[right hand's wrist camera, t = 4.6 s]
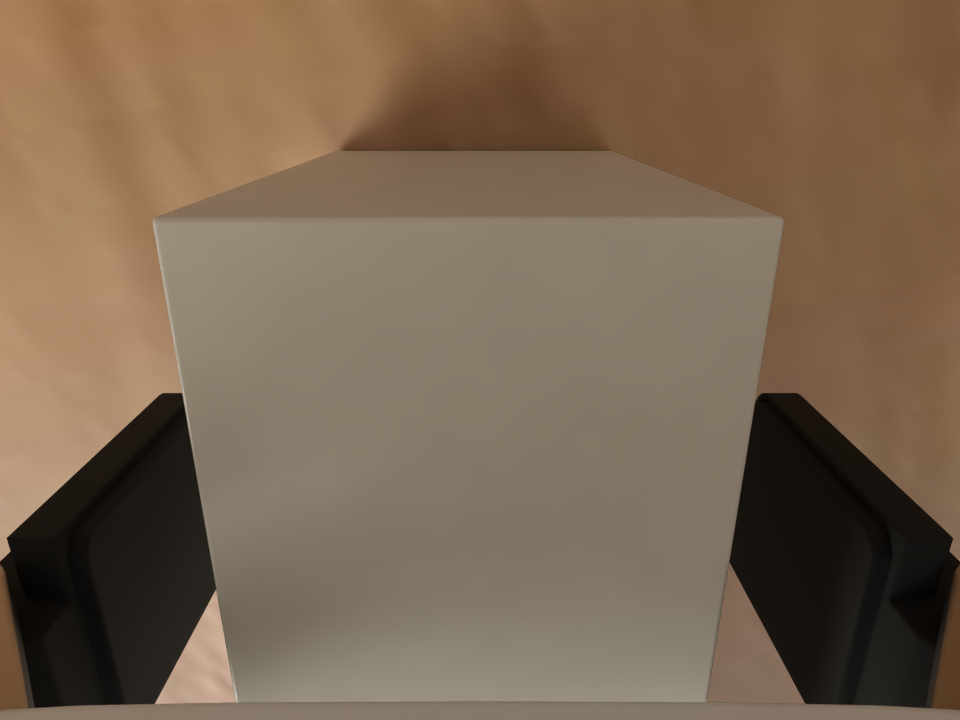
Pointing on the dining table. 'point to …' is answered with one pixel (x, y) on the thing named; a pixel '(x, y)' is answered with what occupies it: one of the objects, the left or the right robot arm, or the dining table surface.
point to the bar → (469, 421)
